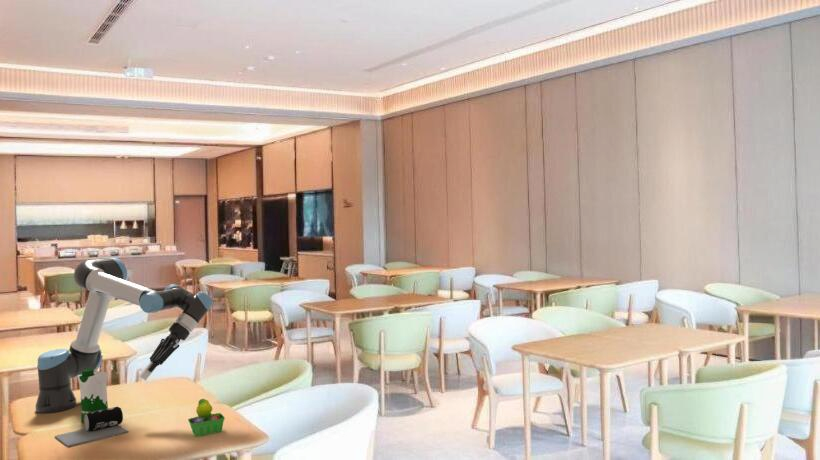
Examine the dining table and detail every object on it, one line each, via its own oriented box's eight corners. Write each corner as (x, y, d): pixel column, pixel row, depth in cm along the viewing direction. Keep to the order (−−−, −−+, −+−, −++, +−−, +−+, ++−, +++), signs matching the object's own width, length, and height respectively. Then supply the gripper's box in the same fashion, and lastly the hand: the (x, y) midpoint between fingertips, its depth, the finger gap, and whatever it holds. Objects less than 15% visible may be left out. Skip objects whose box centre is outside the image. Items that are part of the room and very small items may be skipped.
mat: (54, 437, 243) (54, 435, 243) (112, 423, 256) (112, 422, 256) (68, 447, 231) (67, 445, 231) (128, 432, 244) (128, 430, 244)
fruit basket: (192, 438, 233) (190, 405, 233) (187, 432, 241) (186, 400, 241) (226, 432, 239) (224, 400, 238) (220, 425, 247) (218, 394, 246)
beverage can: (122, 407, 251) (87, 414, 244) (124, 425, 251) (89, 433, 244) (117, 404, 256) (83, 412, 249) (118, 422, 256) (84, 430, 249)
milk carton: (77, 423, 260) (74, 370, 259) (97, 416, 268) (94, 365, 267) (94, 425, 256) (90, 372, 255) (113, 418, 264) (110, 366, 264)
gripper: (169, 320, 270) (128, 370, 259) (182, 322, 260) (141, 374, 249) (182, 331, 273) (143, 381, 263) (196, 334, 264) (156, 386, 253)
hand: (142, 378), depth 256 cm, fingers closed
